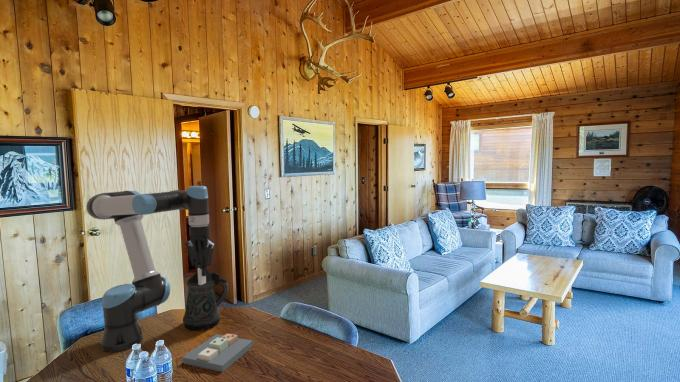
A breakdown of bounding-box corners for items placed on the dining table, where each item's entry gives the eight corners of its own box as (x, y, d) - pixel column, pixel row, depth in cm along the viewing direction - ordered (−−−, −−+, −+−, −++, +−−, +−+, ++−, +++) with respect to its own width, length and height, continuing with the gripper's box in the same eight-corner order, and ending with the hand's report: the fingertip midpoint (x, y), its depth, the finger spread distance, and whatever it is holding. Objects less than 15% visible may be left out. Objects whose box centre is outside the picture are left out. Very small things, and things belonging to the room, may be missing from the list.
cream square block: (198, 363, 136) (198, 353, 135) (207, 356, 140) (207, 346, 140) (209, 365, 134) (209, 355, 134) (218, 358, 139) (218, 349, 138)
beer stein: (177, 323, 171) (174, 271, 169) (217, 311, 184) (215, 262, 182) (191, 335, 159) (188, 279, 157) (233, 321, 172) (230, 269, 170)
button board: (182, 363, 137) (182, 357, 137) (216, 339, 155) (216, 334, 155) (222, 372, 131) (222, 365, 131) (252, 346, 149) (252, 340, 148)
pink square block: (219, 347, 147) (219, 338, 147) (227, 341, 152) (227, 332, 151) (230, 349, 145) (229, 340, 145) (237, 343, 150) (237, 334, 150)
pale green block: (209, 351, 141) (208, 342, 141) (217, 345, 146) (217, 336, 146) (220, 354, 140) (219, 344, 139) (228, 347, 144) (228, 338, 144)
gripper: (178, 226, 143) (182, 285, 145) (206, 227, 139) (209, 288, 141) (192, 222, 150) (195, 279, 152) (219, 224, 146) (221, 282, 148)
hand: (202, 283), depth 146 cm, fingers closed
